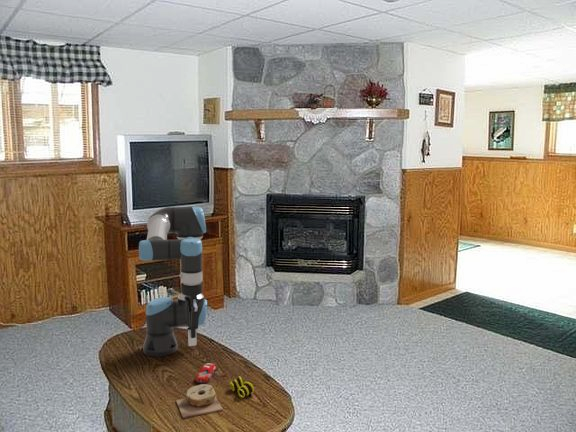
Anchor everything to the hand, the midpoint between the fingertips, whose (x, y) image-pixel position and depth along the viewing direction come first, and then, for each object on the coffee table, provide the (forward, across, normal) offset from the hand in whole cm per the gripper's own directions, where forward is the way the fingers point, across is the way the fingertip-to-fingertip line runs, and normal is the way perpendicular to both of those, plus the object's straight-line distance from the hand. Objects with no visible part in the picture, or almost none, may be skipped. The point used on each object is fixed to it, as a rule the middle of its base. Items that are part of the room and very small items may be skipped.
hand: (192, 344), depth 178 cm
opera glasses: (+21, +3, +18) cm, 28 cm away
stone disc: (+18, -1, +1) cm, 18 cm away
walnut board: (+21, +6, +1) cm, 22 cm away
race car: (+22, -14, +9) cm, 27 cm away
